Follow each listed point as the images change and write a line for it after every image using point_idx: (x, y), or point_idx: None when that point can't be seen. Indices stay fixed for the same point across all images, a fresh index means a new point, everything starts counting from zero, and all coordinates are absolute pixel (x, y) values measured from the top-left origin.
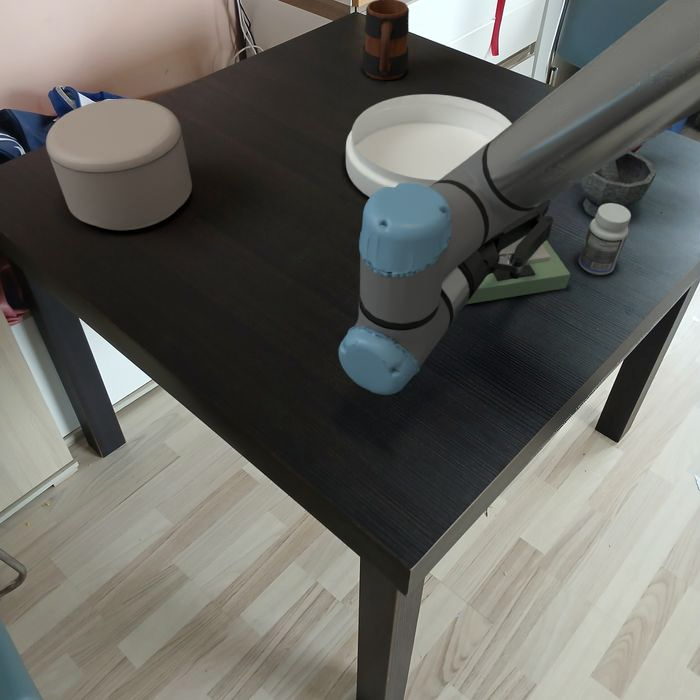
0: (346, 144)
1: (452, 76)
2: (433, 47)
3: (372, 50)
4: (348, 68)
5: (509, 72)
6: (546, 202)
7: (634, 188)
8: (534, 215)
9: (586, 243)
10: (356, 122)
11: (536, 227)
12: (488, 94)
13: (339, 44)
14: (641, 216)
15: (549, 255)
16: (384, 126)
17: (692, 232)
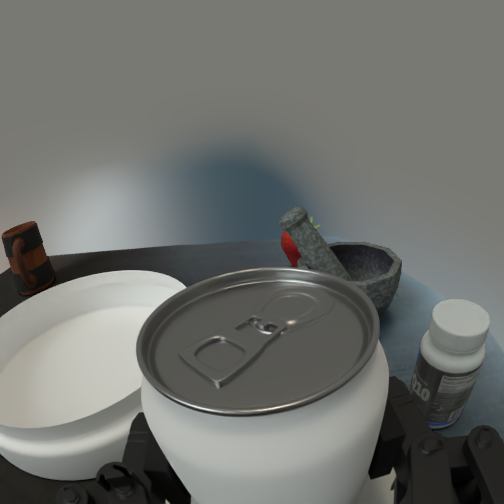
0: None
1: (96, 267)
2: (78, 255)
3: (15, 269)
4: (8, 295)
5: (146, 247)
6: (398, 388)
7: (396, 274)
8: (445, 465)
9: (433, 394)
10: None
11: (501, 500)
12: (133, 268)
13: (6, 280)
14: (389, 309)
15: None
16: (29, 339)
17: (441, 296)
